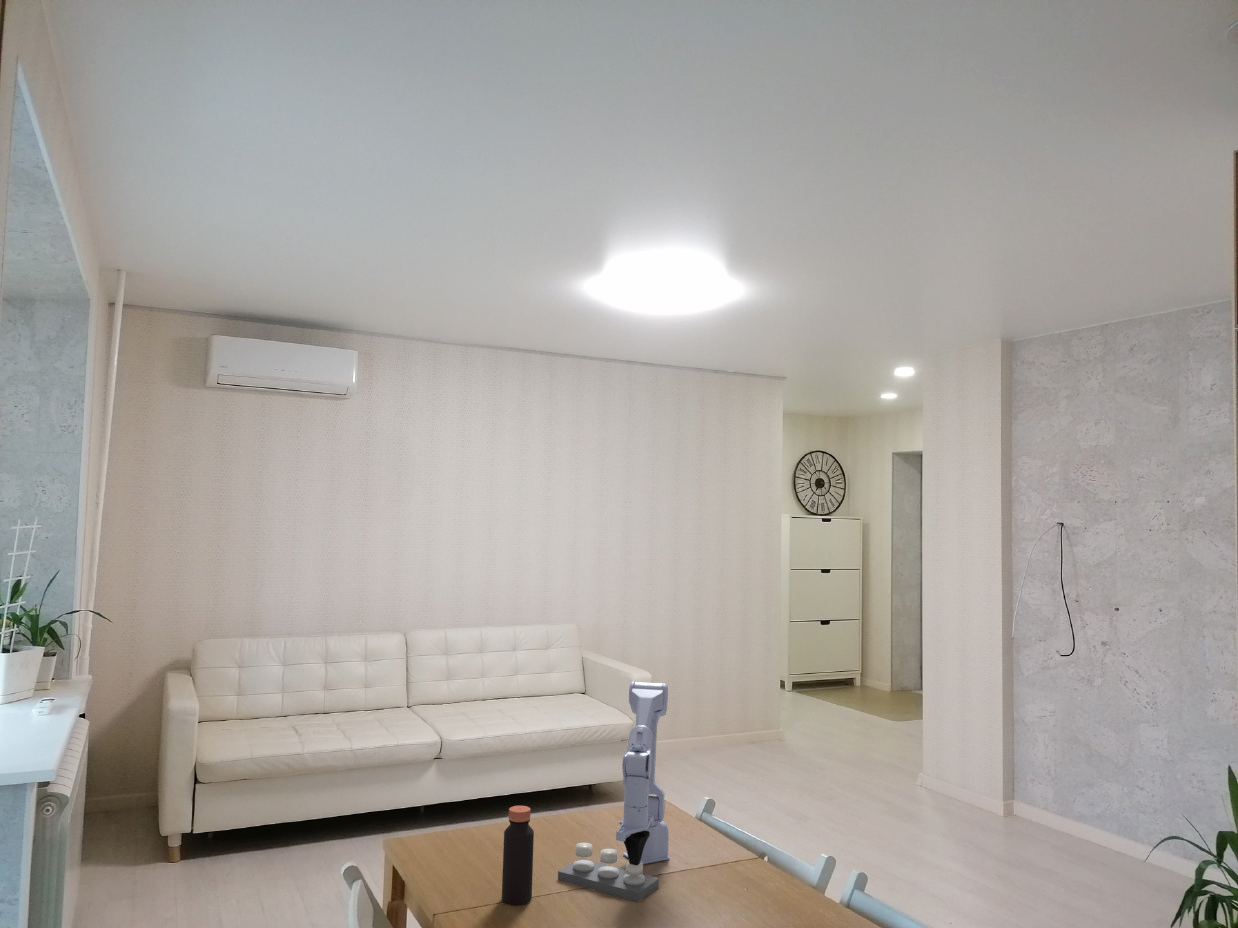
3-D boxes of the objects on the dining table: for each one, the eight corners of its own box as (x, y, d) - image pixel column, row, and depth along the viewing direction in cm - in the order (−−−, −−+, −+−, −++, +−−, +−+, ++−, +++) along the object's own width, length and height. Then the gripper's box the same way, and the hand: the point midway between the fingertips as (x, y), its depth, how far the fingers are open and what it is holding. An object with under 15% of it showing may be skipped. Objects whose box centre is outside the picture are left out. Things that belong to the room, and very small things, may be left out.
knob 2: (620, 859, 209) (620, 850, 209) (611, 864, 205) (611, 855, 206) (605, 855, 211) (606, 847, 211) (597, 860, 207) (597, 852, 208)
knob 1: (595, 853, 212) (595, 844, 212) (586, 858, 209) (586, 849, 209) (581, 849, 214) (581, 841, 215) (572, 854, 211) (572, 846, 211)
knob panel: (658, 886, 206) (659, 873, 207) (638, 901, 198) (638, 888, 198) (580, 866, 218) (580, 853, 218) (557, 879, 209) (558, 866, 209)
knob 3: (645, 871, 205) (646, 862, 205) (637, 876, 202) (637, 868, 202) (630, 867, 207) (631, 858, 207) (622, 873, 204) (622, 864, 204)
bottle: (517, 890, 202) (520, 801, 203) (538, 899, 198) (541, 808, 199) (495, 899, 197) (498, 808, 198) (516, 908, 193) (519, 815, 194)
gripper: (636, 793, 214) (634, 850, 213) (605, 808, 201) (603, 869, 200) (661, 798, 210) (660, 856, 209) (632, 814, 198) (630, 876, 197)
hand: (634, 863), depth 205 cm, fingers closed, pressing on knob 3
